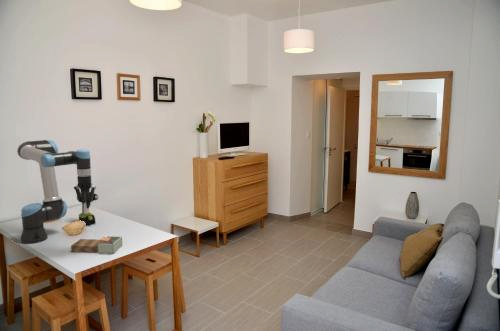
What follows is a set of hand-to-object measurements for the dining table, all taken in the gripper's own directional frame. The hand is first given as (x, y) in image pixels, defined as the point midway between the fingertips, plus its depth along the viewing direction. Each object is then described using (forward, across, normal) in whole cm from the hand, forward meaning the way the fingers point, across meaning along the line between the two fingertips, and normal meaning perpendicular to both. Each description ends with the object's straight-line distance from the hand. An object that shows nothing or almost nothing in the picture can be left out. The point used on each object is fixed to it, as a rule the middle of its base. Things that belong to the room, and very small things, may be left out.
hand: (86, 213), depth 218 cm
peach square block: (+19, +11, -1) cm, 22 cm away
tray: (+23, +15, -1) cm, 27 cm away
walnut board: (+23, +1, -1) cm, 23 cm away
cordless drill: (+24, -20, +44) cm, 53 cm away
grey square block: (+18, +15, -1) cm, 23 cm away
